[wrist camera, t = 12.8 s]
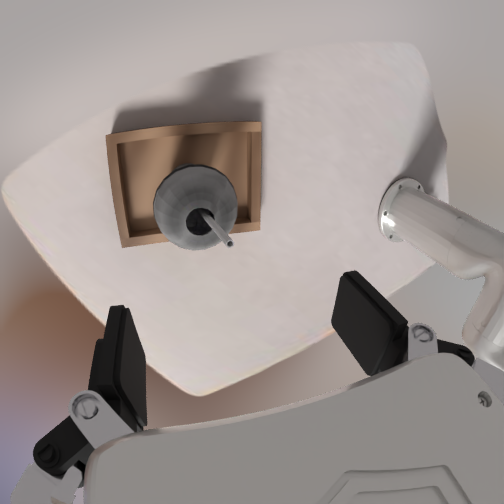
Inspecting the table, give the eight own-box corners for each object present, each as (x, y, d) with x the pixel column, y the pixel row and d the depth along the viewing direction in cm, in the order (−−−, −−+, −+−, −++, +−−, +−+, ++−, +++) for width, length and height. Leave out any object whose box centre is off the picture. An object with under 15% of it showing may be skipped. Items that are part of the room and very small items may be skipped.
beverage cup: (152, 158, 31) (131, 201, 13) (212, 147, 32) (265, 174, 15) (164, 214, 34) (164, 312, 17) (219, 202, 35) (274, 286, 18)
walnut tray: (254, 121, 33) (261, 121, 30) (253, 221, 39) (260, 230, 37) (110, 133, 28) (105, 135, 26) (124, 238, 35) (122, 247, 32)
